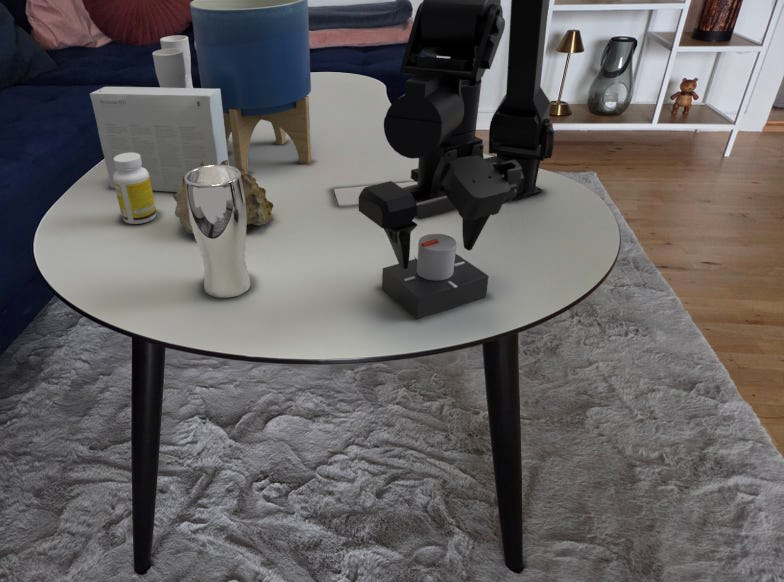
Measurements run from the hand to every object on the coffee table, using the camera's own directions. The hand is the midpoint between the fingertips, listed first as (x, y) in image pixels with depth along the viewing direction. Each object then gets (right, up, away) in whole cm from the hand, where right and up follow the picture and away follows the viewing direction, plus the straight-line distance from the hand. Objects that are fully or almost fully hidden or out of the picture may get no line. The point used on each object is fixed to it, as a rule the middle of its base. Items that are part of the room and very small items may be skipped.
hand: (436, 258), depth 76 cm
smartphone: (-3, +14, +28) cm, 32 cm away
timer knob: (0, -1, +1) cm, 2 cm away
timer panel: (0, -4, +3) cm, 5 cm away
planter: (-24, +26, +43) cm, 56 cm away
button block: (+5, +13, +24) cm, 28 cm away
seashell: (-28, +8, +21) cm, 36 cm away
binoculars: (-40, +32, +53) cm, 73 cm away
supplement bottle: (-42, +10, +25) cm, 50 cm away
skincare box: (-39, +18, +34) cm, 55 cm away
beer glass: (-26, -3, +7) cm, 27 cm away
